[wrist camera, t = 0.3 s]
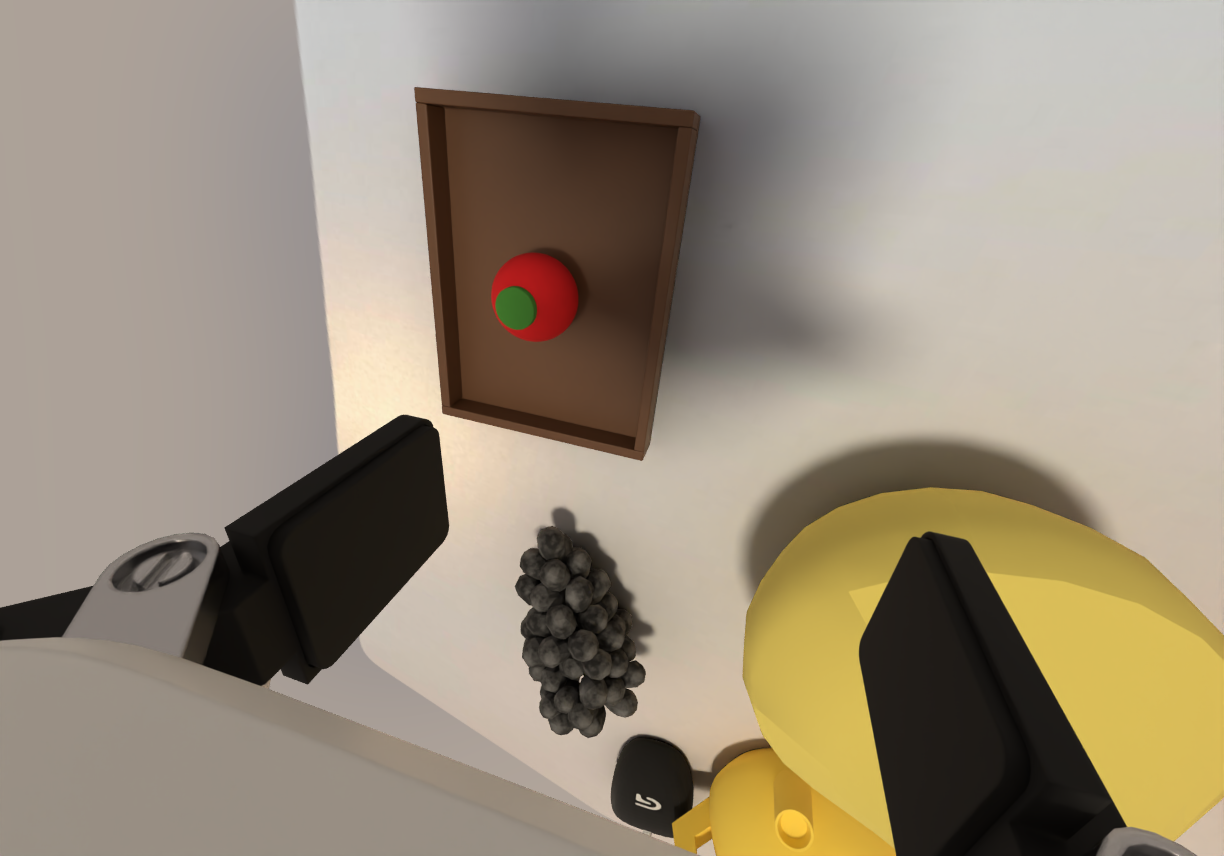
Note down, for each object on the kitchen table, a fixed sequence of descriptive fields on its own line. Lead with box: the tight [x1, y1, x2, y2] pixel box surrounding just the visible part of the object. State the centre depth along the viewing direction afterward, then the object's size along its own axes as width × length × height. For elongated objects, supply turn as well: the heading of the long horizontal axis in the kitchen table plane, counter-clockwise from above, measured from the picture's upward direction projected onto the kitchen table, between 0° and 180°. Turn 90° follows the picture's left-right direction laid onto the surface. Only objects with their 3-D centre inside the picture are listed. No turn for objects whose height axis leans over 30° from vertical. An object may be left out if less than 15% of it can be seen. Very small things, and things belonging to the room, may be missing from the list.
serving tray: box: [414, 87, 700, 461], centre depth 26 cm, size 17×13×2 cm
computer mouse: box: [611, 738, 693, 838], centre depth 44 cm, size 8×12×4 cm, turn 1°
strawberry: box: [491, 252, 578, 342], centre depth 24 cm, size 4×4×5 cm
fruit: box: [515, 526, 646, 738], centre depth 33 cm, size 9×8×15 cm
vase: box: [743, 487, 1224, 849], centre depth 20 cm, size 18×18×19 cm
